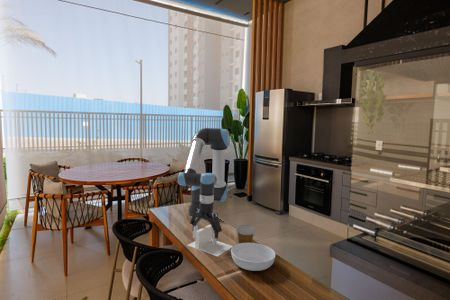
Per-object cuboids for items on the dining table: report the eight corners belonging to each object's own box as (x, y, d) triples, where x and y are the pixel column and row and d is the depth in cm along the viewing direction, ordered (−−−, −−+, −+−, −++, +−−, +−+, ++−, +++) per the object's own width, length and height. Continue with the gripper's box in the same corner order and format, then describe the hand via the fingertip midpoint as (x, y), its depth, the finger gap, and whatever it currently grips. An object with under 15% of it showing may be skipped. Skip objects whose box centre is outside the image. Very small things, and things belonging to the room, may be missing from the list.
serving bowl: (284, 271, 124) (285, 256, 124) (246, 282, 114) (247, 266, 113) (256, 251, 142) (257, 239, 142) (222, 259, 132) (223, 246, 131)
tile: (208, 240, 153) (209, 224, 152) (212, 241, 151) (212, 225, 151) (194, 247, 143) (195, 230, 142) (198, 248, 141) (199, 231, 141)
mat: (204, 237, 157) (204, 236, 157) (233, 247, 146) (233, 246, 146) (187, 246, 145) (187, 245, 145) (217, 257, 134) (217, 256, 134)
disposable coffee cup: (255, 248, 147) (257, 226, 146) (249, 255, 138) (251, 232, 137) (239, 244, 150) (240, 223, 150) (232, 251, 142) (234, 228, 141)
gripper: (184, 199, 149) (183, 236, 151) (221, 208, 136) (219, 249, 138) (193, 196, 156) (191, 232, 157) (229, 205, 142) (227, 244, 144)
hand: (204, 240), depth 147 cm, fingers open, 13 cm apart
